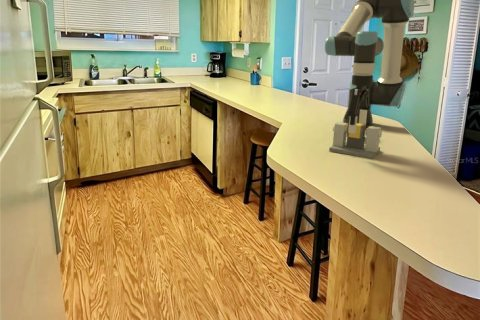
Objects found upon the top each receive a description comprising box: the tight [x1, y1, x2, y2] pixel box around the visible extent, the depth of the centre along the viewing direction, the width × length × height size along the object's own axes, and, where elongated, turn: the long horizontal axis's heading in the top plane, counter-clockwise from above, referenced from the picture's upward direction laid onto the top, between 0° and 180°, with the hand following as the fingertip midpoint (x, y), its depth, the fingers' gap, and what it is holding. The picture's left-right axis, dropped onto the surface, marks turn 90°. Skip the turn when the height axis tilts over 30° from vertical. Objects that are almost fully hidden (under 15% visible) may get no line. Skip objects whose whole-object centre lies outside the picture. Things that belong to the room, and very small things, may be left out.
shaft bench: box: [328, 121, 383, 159], centre depth 146 cm, size 12×18×10 cm, turn 57°
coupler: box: [346, 123, 366, 139], centre depth 145 cm, size 4×6×5 cm
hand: (357, 129), depth 145 cm, fingers open, 13 cm apart
